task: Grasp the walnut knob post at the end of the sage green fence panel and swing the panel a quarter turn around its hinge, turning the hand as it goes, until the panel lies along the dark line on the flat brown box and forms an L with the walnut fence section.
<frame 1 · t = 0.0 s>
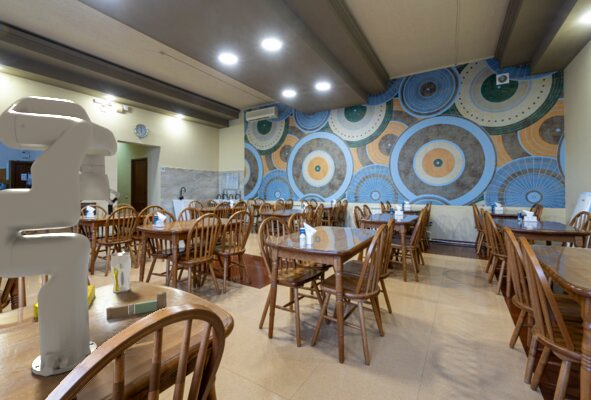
hand: (94, 215, 108), 31 cm above the table, tool pointing down, fingers open, 9 cm apart
hinged panel: (151, 302, 95), point 3 cm above the table, hinge at 0.0°
flat brown box: (140, 311, 96), on the table
beer glass: (121, 290, 114), on the table
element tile: (67, 307, 100), on the table
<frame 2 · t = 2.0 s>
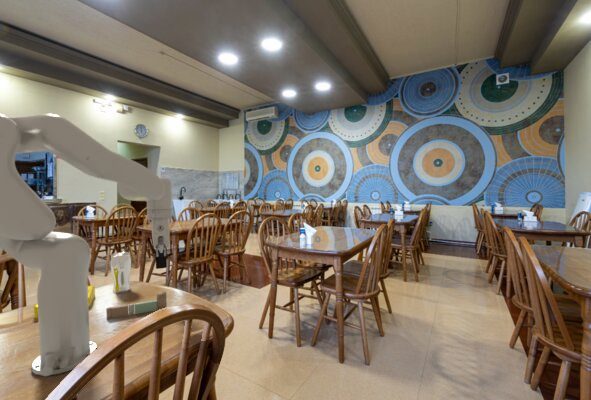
hand: (160, 264, 96), 16 cm above the table, tool pointing down, fingers open, 9 cm apart
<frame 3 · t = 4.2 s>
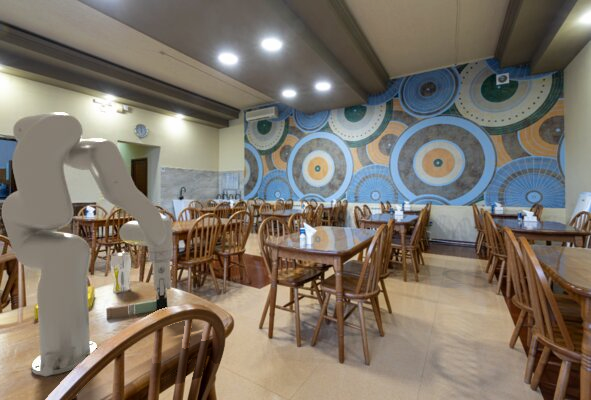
hand: (161, 307, 97), 1 cm above the table, tool pointing down, fingers closed on hinged panel, 3 cm apart
hinged panel: (151, 302, 95), point 3 cm above the table, hinge at 0.0°, touching gripper
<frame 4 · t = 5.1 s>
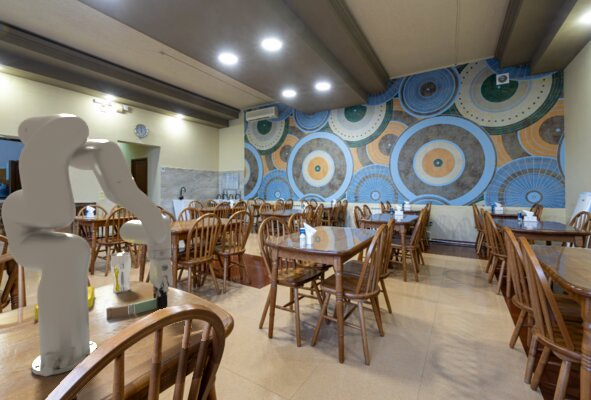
hand: (160, 304, 99), 1 cm above the table, tool pointing down, fingers closed on hinged panel, 3 cm apart
hinged panel: (150, 301, 96), point 3 cm above the table, hinge at 14.6°, touching gripper
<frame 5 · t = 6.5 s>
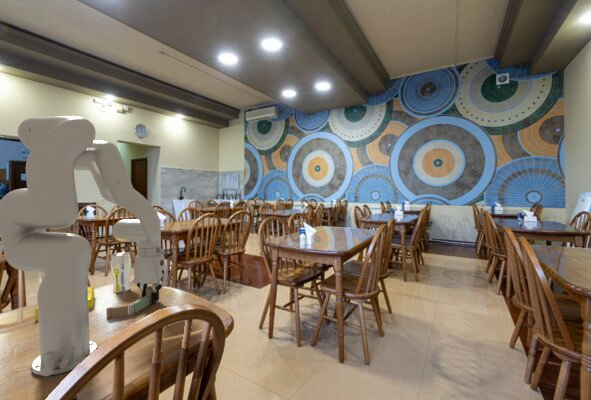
hand: (150, 301, 101), 1 cm above the table, tool pointing down, fingers closed on hinged panel, 3 cm apart
hinged panel: (144, 298, 98), point 3 cm above the table, hinge at 51.8°, touching gripper
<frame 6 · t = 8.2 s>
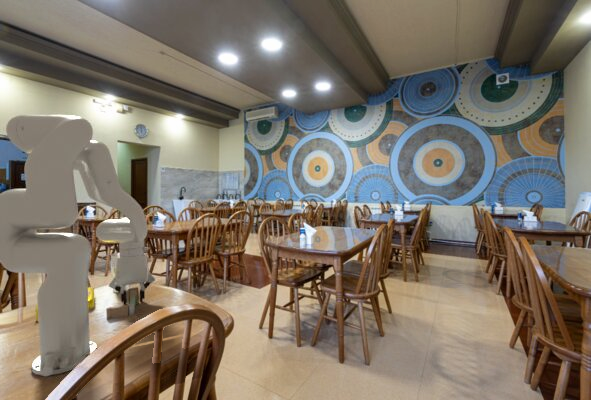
hand: (133, 301, 101), 1 cm above the table, tool pointing down, fingers open, 4 cm apart
hinged panel: (132, 299, 98), point 3 cm above the table, hinge at 88.9°
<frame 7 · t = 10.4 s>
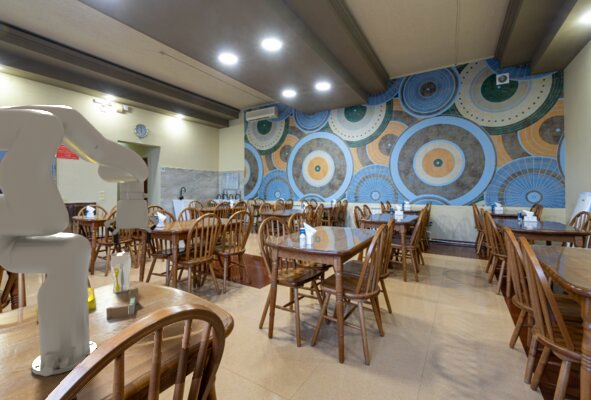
hand: (133, 243, 102), 22 cm above the table, tool pointing down, fingers open, 9 cm apart
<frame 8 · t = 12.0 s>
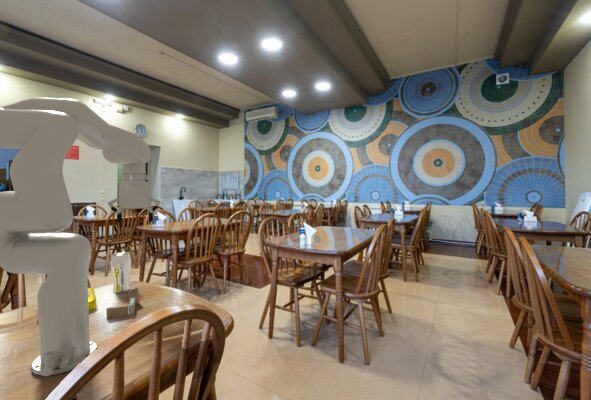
hand: (135, 223, 106), 28 cm above the table, tool pointing down, fingers open, 9 cm apart
at the end: hinged panel at +89° (first picture: +0°); the gripper is holding nothing; beer glass moved 0.2 cm from its start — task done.
